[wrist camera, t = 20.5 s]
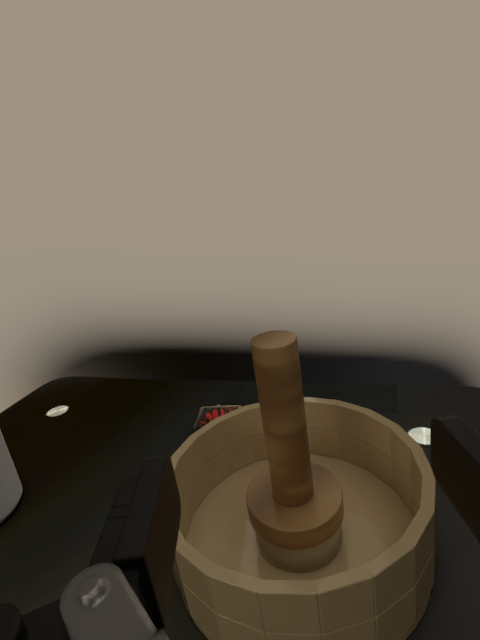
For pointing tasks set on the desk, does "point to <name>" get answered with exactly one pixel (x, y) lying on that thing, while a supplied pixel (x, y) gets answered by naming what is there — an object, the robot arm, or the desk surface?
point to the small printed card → (212, 414)
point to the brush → (290, 468)
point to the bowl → (357, 526)
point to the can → (8, 483)
